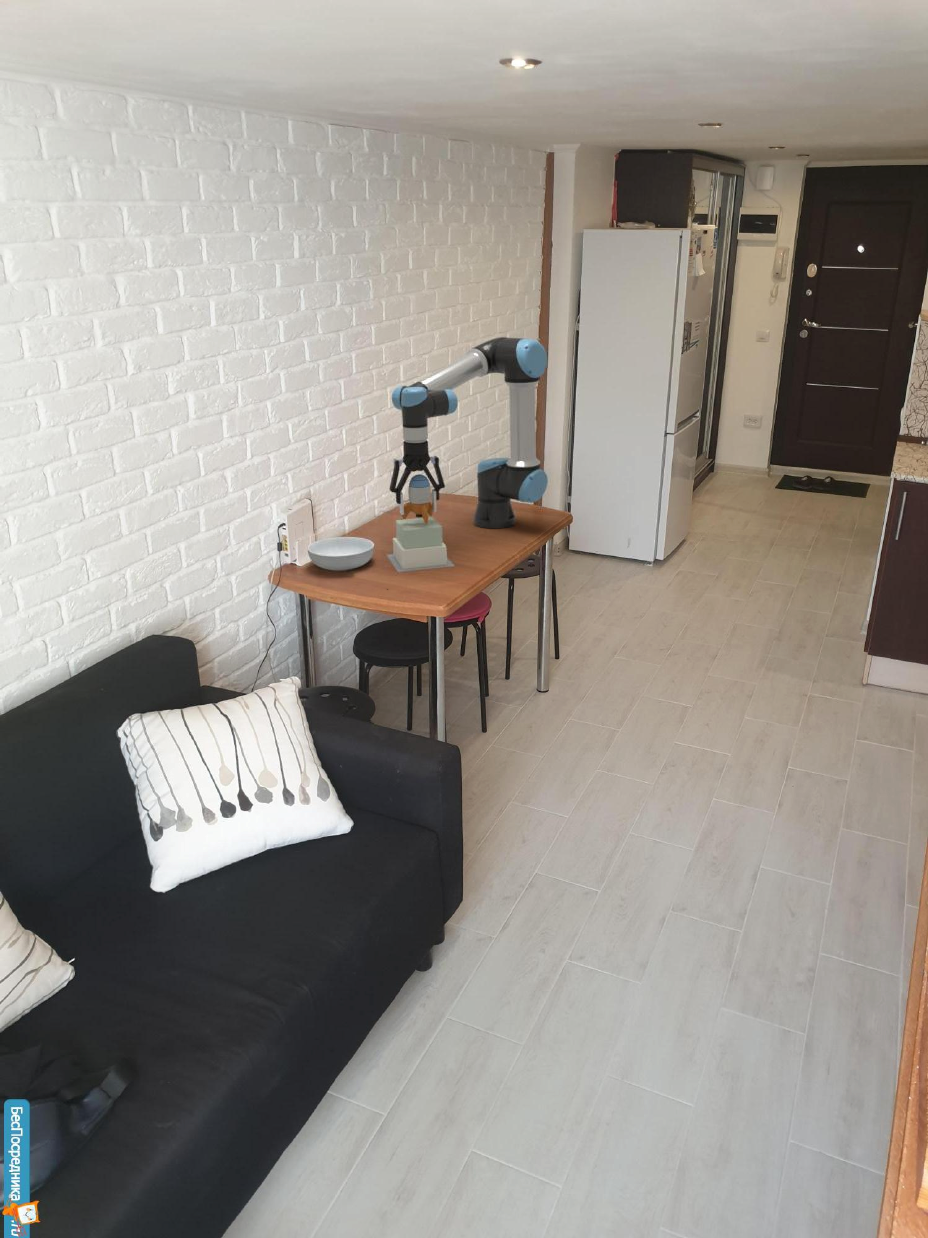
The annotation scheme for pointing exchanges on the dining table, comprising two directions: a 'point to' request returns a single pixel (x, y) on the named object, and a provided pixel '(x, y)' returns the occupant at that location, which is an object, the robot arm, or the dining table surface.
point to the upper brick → (418, 533)
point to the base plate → (399, 569)
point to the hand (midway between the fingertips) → (418, 512)
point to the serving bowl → (341, 553)
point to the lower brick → (419, 556)
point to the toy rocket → (419, 498)
